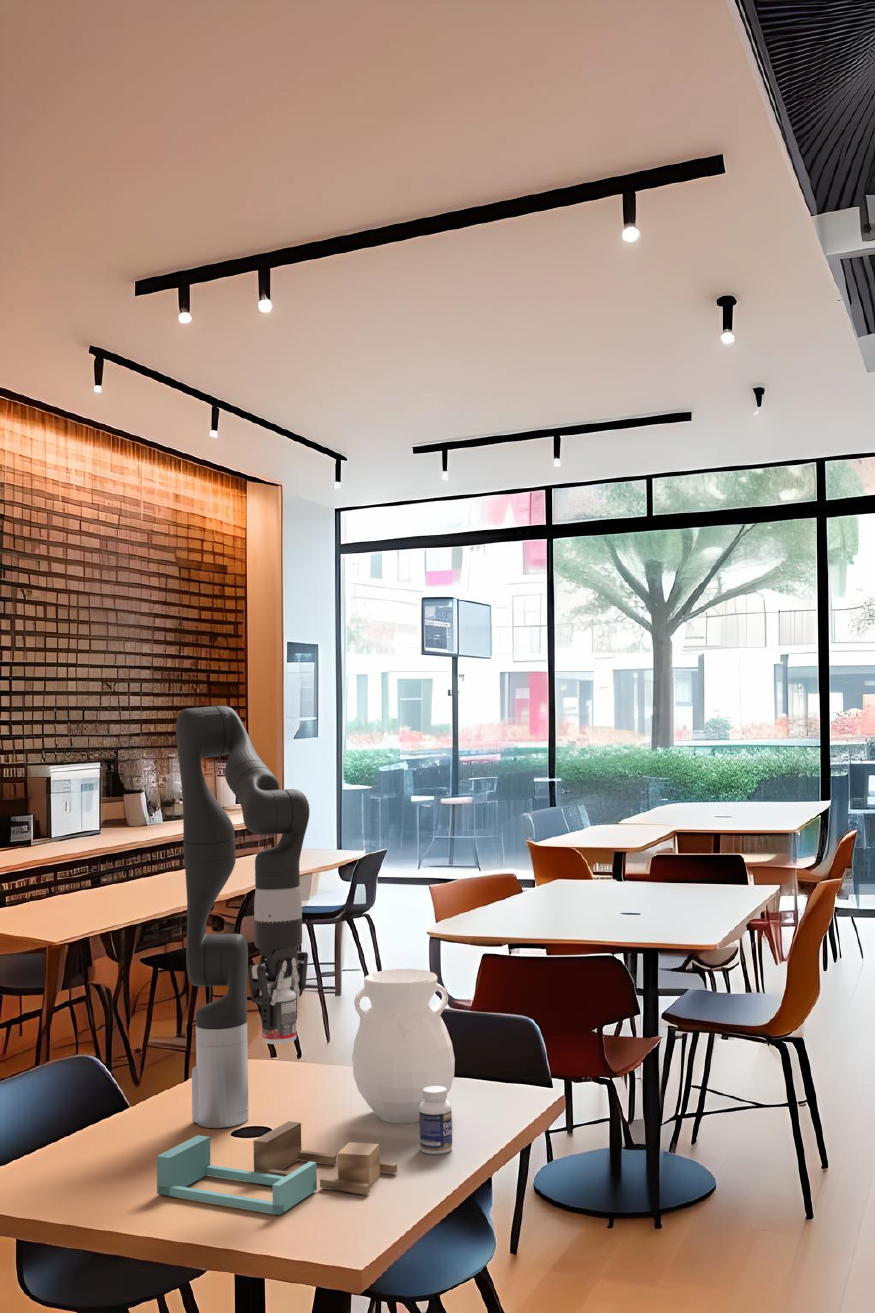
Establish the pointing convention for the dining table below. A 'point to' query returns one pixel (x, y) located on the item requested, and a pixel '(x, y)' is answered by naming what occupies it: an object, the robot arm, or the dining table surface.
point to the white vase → (401, 1043)
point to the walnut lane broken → (301, 1157)
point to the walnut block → (359, 1163)
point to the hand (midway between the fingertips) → (279, 1024)
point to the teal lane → (194, 1164)
